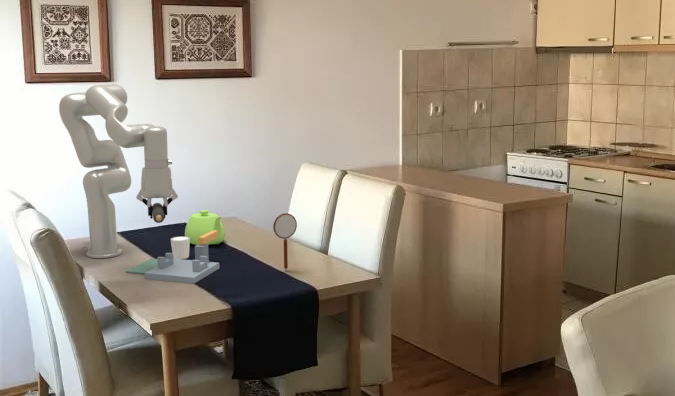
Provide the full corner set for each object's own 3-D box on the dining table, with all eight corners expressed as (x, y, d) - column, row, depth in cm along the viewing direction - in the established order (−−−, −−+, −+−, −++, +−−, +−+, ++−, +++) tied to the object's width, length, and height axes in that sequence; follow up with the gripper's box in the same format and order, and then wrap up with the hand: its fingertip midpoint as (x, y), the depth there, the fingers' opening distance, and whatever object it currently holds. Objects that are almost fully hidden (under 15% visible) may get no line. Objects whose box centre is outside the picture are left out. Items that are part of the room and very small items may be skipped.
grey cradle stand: (145, 278, 244) (143, 254, 242) (173, 264, 261) (172, 241, 259) (194, 283, 238) (192, 258, 237) (219, 268, 255) (218, 245, 254)
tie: (198, 244, 253) (198, 237, 253) (213, 236, 264) (213, 230, 263) (203, 244, 253) (203, 237, 252) (218, 237, 263) (218, 230, 263)
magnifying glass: (275, 273, 249) (274, 215, 245) (273, 272, 251) (272, 214, 247) (298, 269, 253) (297, 212, 249) (296, 268, 255) (295, 211, 251)
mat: (125, 272, 250) (125, 270, 250) (151, 260, 265) (151, 258, 265) (146, 274, 248) (146, 273, 248) (171, 262, 263) (171, 260, 263)
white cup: (186, 260, 266) (185, 241, 264) (168, 259, 267) (167, 240, 266) (193, 255, 272) (192, 236, 271) (176, 254, 274) (175, 235, 272)
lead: (152, 212, 255) (151, 202, 254) (162, 212, 256) (162, 201, 255) (153, 224, 239) (153, 213, 238) (164, 223, 240) (164, 212, 239)
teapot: (238, 246, 285) (237, 212, 282) (204, 252, 275) (203, 218, 273) (209, 235, 301) (207, 204, 299) (175, 241, 292) (174, 209, 289)
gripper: (181, 161, 252) (182, 214, 256) (130, 162, 248) (132, 215, 252) (182, 165, 245) (183, 219, 249) (130, 166, 241) (132, 221, 245)
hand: (157, 217), depth 250 cm, fingers closed on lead, 3 cm apart
